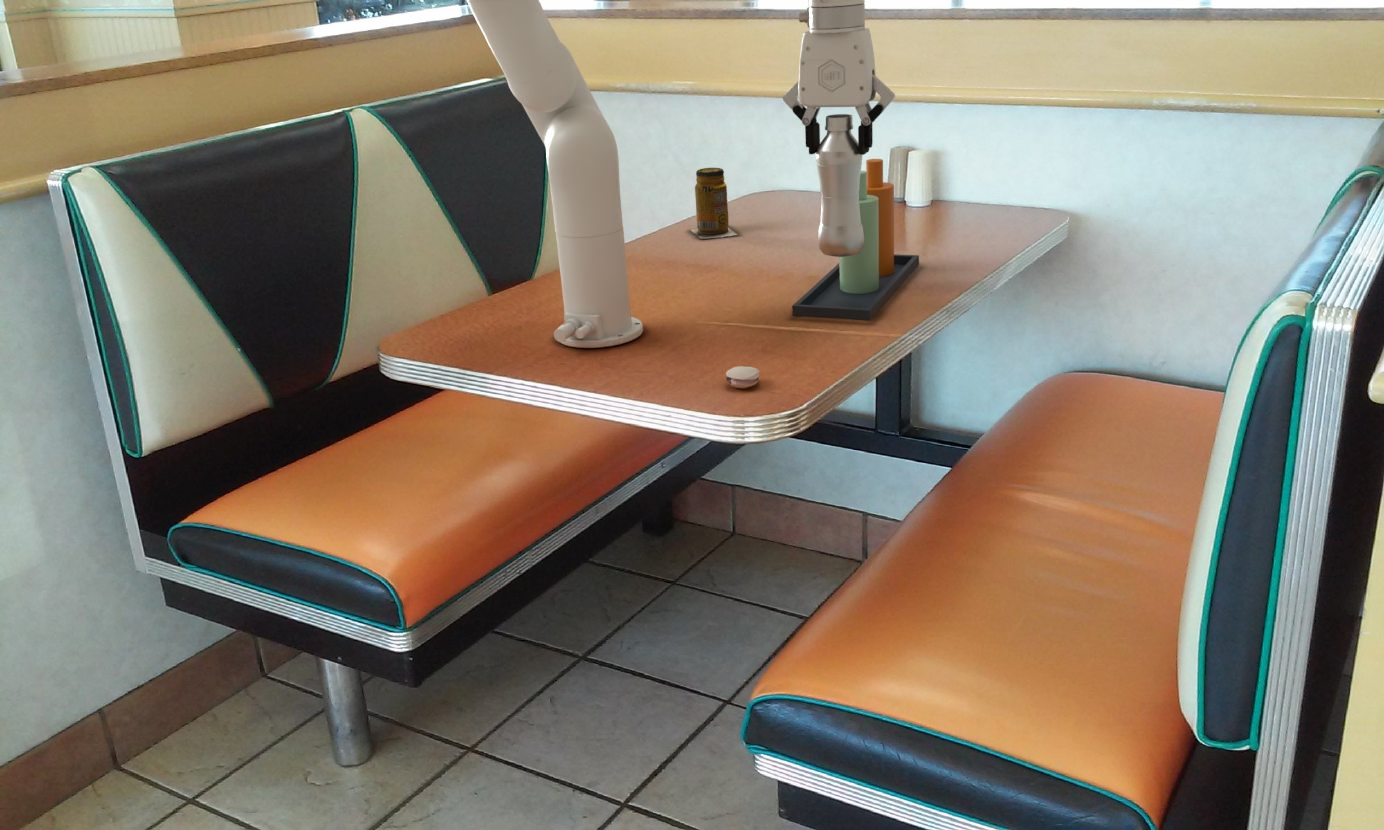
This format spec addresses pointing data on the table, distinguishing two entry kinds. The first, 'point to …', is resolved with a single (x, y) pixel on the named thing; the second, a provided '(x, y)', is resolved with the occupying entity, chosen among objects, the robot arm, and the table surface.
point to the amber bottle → (882, 214)
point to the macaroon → (742, 376)
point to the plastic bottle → (839, 189)
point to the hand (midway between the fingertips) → (839, 151)
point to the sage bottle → (863, 248)
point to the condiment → (711, 204)
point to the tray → (842, 305)
